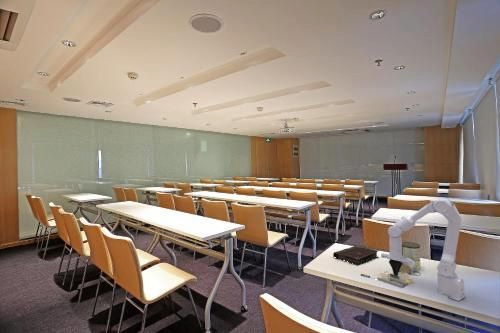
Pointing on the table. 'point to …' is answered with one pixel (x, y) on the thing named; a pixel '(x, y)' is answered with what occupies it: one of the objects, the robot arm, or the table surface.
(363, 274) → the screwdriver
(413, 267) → the ceramic mug
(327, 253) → the table surface
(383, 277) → the tab
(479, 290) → the table surface
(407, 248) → the coffee can
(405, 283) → the switch bank
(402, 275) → the tab
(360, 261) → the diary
